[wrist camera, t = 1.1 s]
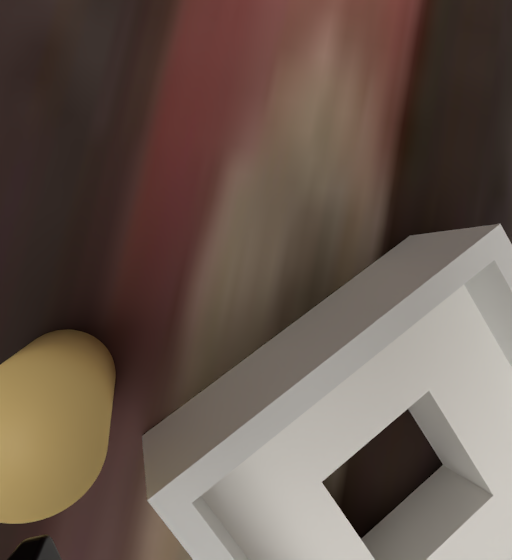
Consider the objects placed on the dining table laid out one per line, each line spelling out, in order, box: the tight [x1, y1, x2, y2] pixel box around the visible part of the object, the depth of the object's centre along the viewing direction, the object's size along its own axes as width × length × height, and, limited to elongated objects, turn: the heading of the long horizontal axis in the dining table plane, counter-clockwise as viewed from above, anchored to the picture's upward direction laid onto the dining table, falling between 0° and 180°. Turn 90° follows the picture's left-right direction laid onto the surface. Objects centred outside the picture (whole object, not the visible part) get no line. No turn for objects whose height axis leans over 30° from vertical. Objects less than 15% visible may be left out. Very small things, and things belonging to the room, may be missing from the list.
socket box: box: [142, 224, 512, 560], centre depth 21 cm, size 16×16×6 cm
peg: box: [0, 329, 116, 524], centre depth 16 cm, size 4×4×8 cm
